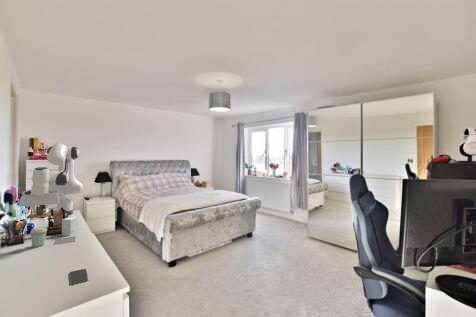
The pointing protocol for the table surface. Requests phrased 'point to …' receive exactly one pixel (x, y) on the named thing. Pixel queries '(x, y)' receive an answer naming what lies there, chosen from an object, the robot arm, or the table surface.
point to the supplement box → (69, 226)
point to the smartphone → (78, 276)
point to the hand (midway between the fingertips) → (39, 211)
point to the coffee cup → (38, 236)
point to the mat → (64, 240)
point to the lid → (39, 213)
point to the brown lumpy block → (55, 221)
